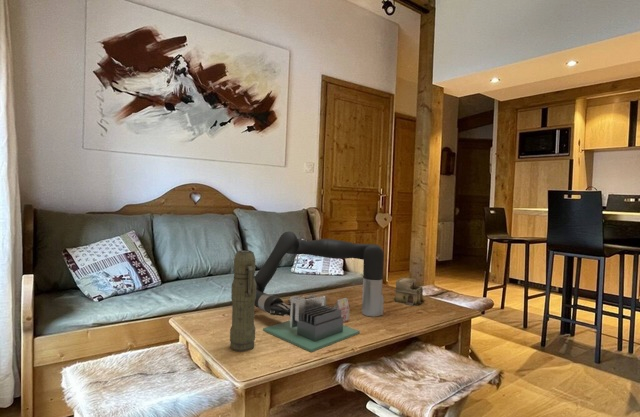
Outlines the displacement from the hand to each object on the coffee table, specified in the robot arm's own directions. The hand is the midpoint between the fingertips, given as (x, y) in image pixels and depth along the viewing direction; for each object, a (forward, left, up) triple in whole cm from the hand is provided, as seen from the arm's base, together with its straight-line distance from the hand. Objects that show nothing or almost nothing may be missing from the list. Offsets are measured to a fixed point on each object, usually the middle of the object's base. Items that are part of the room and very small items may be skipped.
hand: (295, 314), depth 151 cm
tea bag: (-23, -10, -8) cm, 27 cm away
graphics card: (-13, -39, -8) cm, 42 cm away
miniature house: (-70, -34, -8) cm, 78 cm away
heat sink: (-7, 0, -7) cm, 10 cm away
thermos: (+22, +10, -8) cm, 25 cm away
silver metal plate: (-6, -2, -4) cm, 8 cm away
